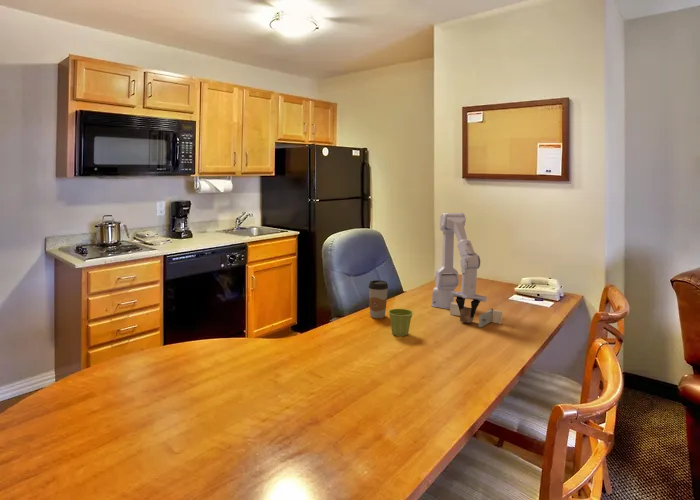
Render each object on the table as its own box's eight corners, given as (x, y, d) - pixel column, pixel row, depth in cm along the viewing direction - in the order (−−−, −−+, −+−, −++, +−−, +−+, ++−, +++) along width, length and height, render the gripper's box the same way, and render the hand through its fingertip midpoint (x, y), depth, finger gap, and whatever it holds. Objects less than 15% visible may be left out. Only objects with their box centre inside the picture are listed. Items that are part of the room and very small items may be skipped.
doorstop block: (459, 321, 182) (460, 309, 181) (464, 318, 186) (464, 306, 185) (469, 323, 179) (470, 311, 179) (473, 320, 184) (474, 308, 183)
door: (483, 327, 175) (484, 315, 174) (478, 326, 177) (479, 314, 176) (495, 321, 184) (496, 309, 183) (490, 320, 185) (491, 308, 184)
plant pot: (385, 329, 172) (386, 308, 171) (409, 329, 173) (410, 308, 171) (389, 338, 163) (390, 315, 161) (415, 338, 164) (415, 315, 162)
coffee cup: (365, 317, 187) (365, 283, 185) (371, 312, 195) (372, 279, 192) (383, 320, 184) (384, 285, 181) (389, 314, 191) (390, 281, 189)
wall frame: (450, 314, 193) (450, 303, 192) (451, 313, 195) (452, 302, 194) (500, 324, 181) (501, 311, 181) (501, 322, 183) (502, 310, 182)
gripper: (448, 283, 181) (446, 315, 183) (483, 288, 173) (481, 321, 175) (454, 280, 187) (452, 311, 189) (489, 285, 179) (486, 317, 181)
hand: (467, 316), depth 183 cm, fingers closed on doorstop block, 4 cm apart
